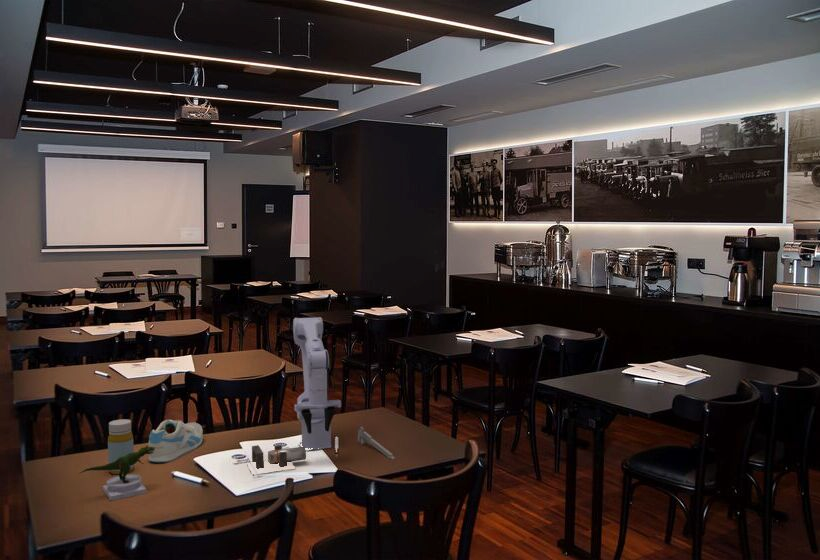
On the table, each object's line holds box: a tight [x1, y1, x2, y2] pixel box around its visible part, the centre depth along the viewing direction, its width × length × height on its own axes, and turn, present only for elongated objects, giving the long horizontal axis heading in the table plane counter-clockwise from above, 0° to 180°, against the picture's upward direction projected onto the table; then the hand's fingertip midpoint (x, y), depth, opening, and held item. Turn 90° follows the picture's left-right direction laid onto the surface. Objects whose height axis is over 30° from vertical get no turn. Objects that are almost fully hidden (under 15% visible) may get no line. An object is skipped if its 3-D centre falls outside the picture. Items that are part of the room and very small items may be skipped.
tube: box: [267, 446, 307, 464], centre depth 209 cm, size 11×4×4 cm, turn 114°
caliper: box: [357, 426, 396, 460], centre depth 223 cm, size 20×1×6 cm, turn 37°
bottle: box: [107, 418, 135, 475], centre depth 204 cm, size 7×7×15 cm
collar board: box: [251, 444, 287, 469], centre depth 207 cm, size 13×9×6 cm
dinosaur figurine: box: [79, 445, 154, 501], centre depth 187 cm, size 9×20×12 cm, turn 126°
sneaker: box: [147, 419, 204, 463], centre depth 223 cm, size 10×27×11 cm, turn 171°
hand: (318, 431), depth 212 cm, fingers open, 5 cm apart
